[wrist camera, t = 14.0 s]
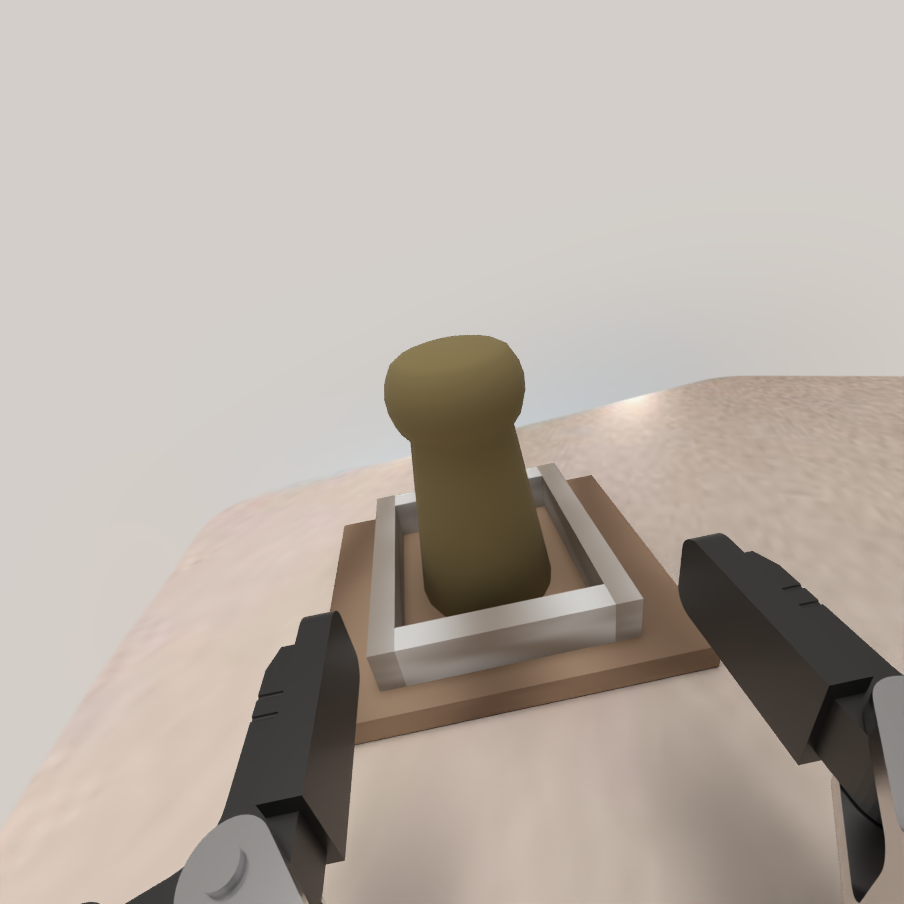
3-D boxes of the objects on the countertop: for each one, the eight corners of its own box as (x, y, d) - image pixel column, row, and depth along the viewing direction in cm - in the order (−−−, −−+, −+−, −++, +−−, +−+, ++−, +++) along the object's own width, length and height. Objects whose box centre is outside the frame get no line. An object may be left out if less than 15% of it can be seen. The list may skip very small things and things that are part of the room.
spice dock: (591, 491, 27) (590, 445, 25) (718, 666, 16) (730, 605, 15) (350, 541, 27) (334, 498, 25) (319, 752, 16) (289, 699, 14)
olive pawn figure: (475, 517, 25) (440, 319, 19) (575, 555, 21) (565, 321, 16) (397, 588, 21) (327, 365, 16) (501, 650, 17) (456, 383, 12)
